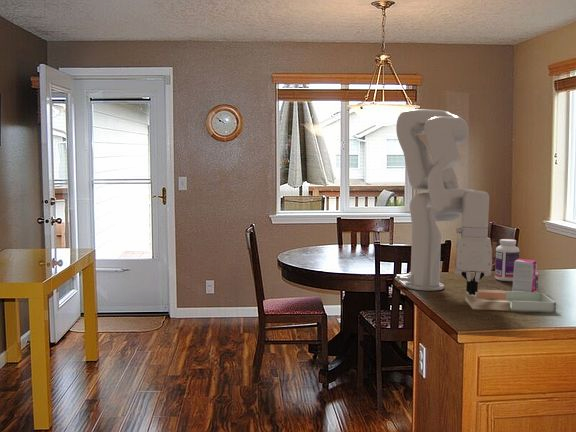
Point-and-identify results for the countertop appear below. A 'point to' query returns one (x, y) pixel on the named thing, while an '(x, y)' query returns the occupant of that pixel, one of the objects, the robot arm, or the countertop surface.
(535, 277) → the pill bottle
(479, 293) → the tile
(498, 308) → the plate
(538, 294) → the tray
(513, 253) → the pill bottle
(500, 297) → the tile
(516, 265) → the supplement box
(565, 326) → the countertop surface
